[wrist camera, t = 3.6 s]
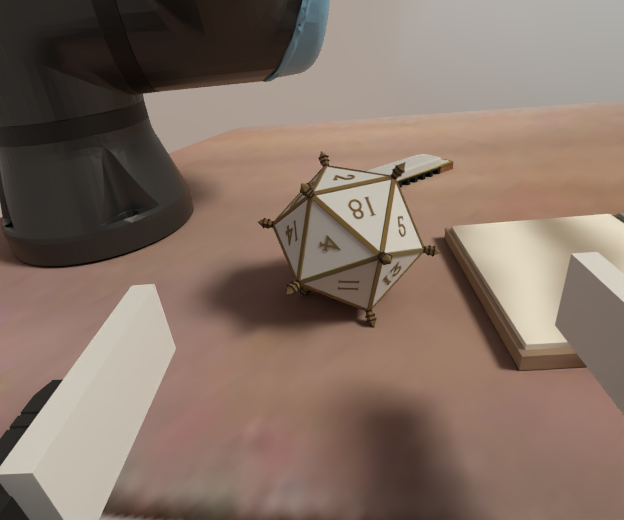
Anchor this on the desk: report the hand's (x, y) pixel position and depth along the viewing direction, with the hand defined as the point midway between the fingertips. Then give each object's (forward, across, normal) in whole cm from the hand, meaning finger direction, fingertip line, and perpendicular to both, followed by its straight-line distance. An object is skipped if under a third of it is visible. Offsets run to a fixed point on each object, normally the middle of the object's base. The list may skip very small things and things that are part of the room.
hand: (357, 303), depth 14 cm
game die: (+9, 0, -6) cm, 11 cm away
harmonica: (+28, +5, -7) cm, 29 cm away
